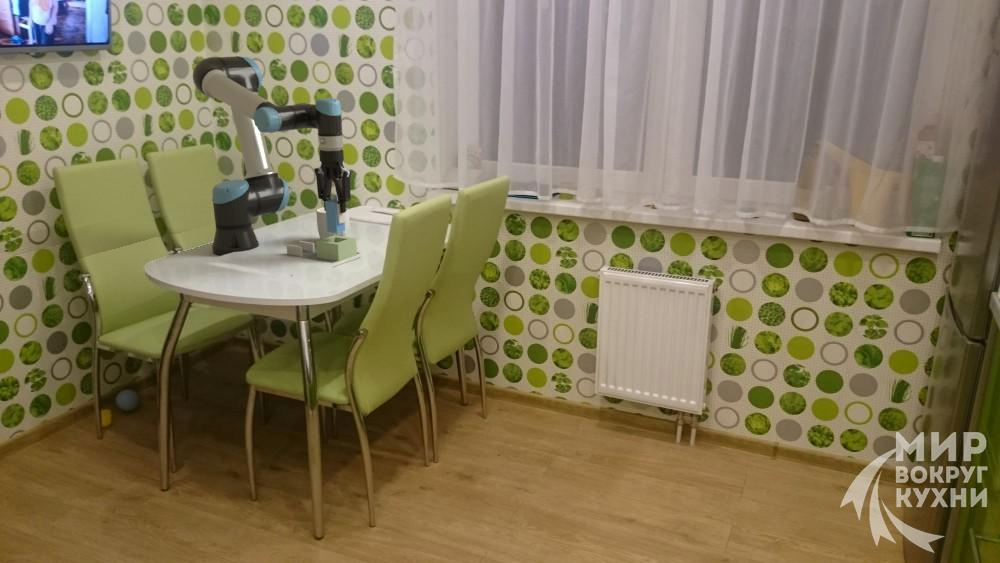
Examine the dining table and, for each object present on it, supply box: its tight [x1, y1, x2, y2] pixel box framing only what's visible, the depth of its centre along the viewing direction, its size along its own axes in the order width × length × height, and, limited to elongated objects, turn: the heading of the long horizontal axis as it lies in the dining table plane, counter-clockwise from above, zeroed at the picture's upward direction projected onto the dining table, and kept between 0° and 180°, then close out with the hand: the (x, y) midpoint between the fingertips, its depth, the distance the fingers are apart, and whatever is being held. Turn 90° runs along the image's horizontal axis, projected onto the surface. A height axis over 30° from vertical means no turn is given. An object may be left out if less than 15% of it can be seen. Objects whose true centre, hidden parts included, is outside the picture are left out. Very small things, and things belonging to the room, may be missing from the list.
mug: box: [316, 206, 350, 240], centre depth 278 cm, size 15×11×13 cm
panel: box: [285, 240, 361, 268], centre depth 266 cm, size 20×14×4 cm
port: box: [316, 235, 358, 262], centre depth 263 cm, size 9×9×6 cm
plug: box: [325, 193, 345, 233], centre depth 259 cm, size 4×4×12 cm
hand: (335, 221), depth 260 cm, fingers closed on plug, 4 cm apart
